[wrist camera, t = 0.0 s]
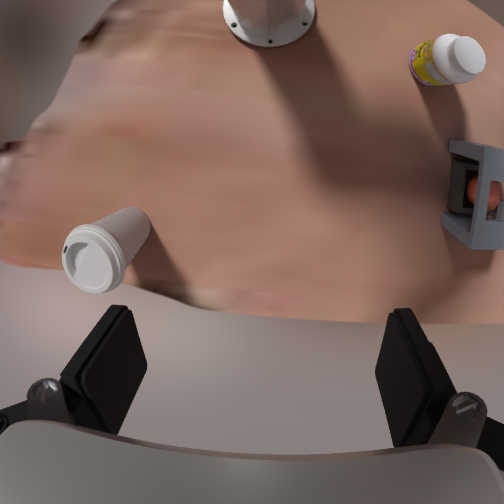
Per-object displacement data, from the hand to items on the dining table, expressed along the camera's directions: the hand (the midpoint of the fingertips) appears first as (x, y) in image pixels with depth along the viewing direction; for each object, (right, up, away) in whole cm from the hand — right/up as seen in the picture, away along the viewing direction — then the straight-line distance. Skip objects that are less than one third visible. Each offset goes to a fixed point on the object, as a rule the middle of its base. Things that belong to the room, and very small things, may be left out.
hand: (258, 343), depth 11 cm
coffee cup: (-20, +8, +39) cm, 44 cm away
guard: (+34, +14, +31) cm, 48 cm away
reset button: (+34, +13, +28) cm, 46 cm away
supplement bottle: (+25, +31, +25) cm, 47 cm away
